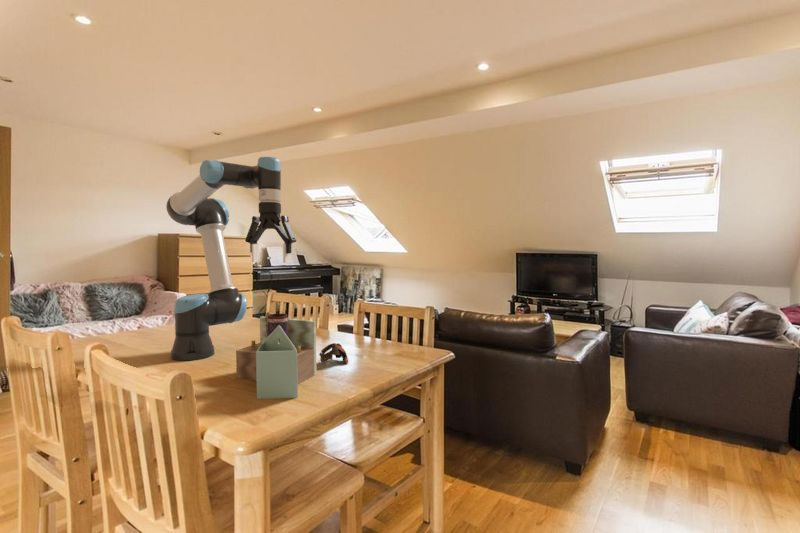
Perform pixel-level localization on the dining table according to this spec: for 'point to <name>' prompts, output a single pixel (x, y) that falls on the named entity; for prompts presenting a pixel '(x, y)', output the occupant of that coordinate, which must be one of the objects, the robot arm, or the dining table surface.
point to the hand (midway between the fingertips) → (270, 262)
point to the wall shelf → (301, 338)
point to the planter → (276, 367)
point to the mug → (276, 323)
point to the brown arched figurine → (333, 353)
